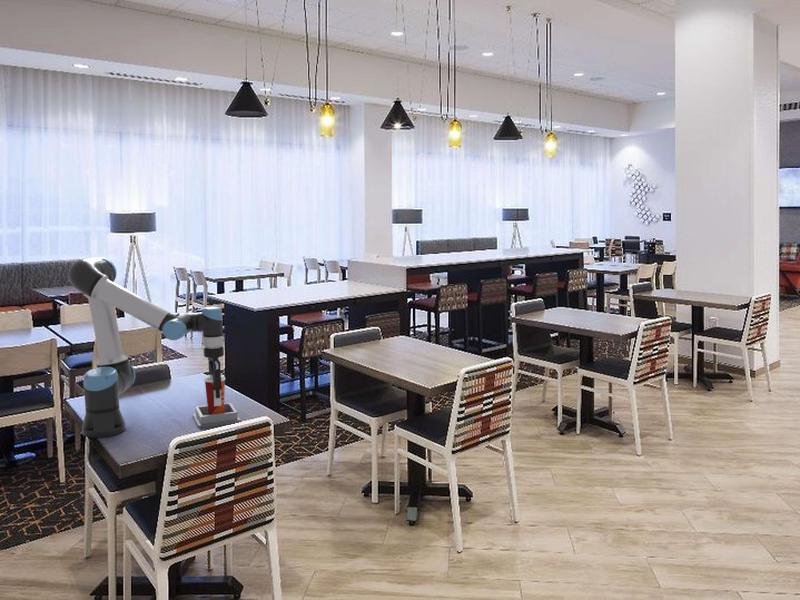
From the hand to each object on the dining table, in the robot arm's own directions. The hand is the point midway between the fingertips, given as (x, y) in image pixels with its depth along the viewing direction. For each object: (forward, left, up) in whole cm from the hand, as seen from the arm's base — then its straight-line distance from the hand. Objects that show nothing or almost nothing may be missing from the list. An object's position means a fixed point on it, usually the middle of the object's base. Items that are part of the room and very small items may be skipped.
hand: (215, 402), depth 267 cm
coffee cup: (0, 0, -4) cm, 4 cm away
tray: (0, 0, -7) cm, 7 cm away
